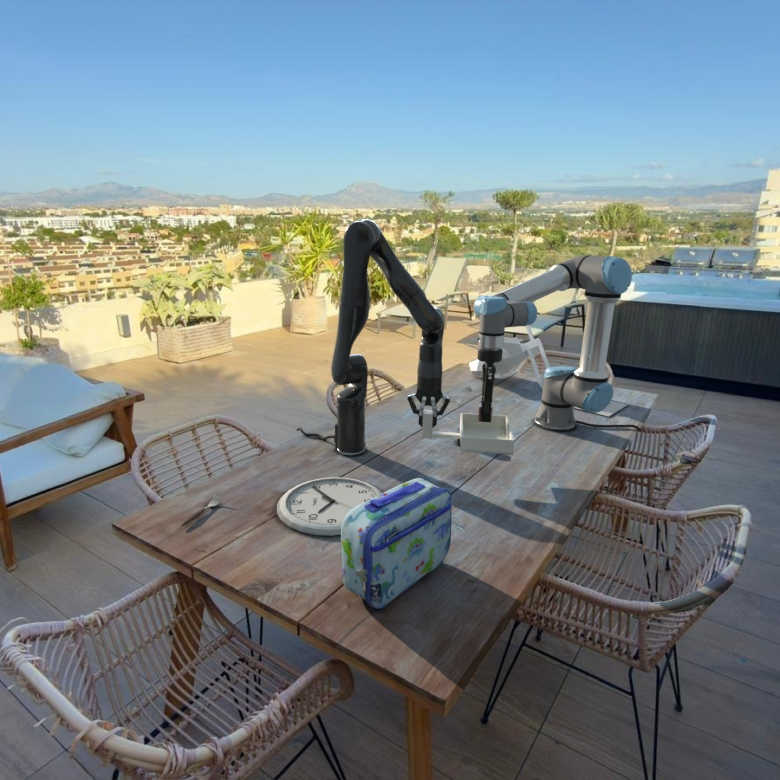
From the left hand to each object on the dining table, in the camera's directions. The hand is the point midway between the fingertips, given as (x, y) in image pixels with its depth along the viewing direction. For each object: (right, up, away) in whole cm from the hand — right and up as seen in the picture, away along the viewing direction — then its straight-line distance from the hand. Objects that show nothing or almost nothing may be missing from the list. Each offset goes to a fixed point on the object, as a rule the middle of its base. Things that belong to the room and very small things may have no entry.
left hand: (427, 426), depth 165 cm
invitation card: (+80, +4, +62) cm, 101 cm away
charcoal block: (+14, -8, +21) cm, 26 cm away
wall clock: (-28, -20, -22) cm, 40 cm away
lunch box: (-10, -30, -52) cm, 60 cm away
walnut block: (+19, +2, +3) cm, 19 cm away
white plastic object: (+46, +15, +93) cm, 105 cm away
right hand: (+19, +2, +3) cm, 19 cm away
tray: (+12, -4, 0) cm, 12 cm away
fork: (-61, -21, -27) cm, 70 cm away
